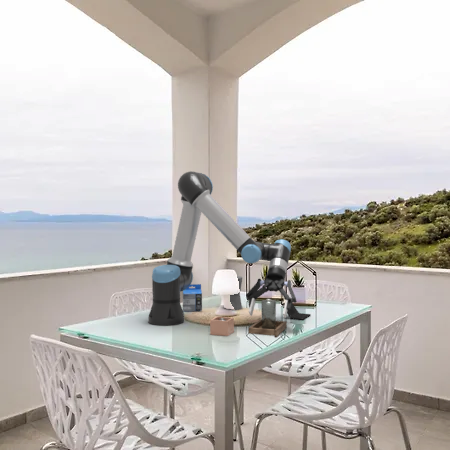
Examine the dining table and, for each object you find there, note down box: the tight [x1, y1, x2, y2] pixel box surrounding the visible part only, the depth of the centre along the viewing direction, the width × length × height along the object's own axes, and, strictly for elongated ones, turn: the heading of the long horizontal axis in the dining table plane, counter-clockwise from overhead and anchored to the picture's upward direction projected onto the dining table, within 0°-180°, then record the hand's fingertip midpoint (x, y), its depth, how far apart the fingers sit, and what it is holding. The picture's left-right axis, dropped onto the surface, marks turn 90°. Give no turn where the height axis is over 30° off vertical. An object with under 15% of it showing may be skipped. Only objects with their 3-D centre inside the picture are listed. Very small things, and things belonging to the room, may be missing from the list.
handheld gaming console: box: [283, 302, 311, 321], centre depth 229 cm, size 12×7×10 cm
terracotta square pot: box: [209, 315, 235, 337], centre depth 197 cm, size 7×7×6 cm
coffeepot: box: [230, 275, 243, 311], centre depth 249 cm, size 15×9×18 cm, turn 27°
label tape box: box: [182, 283, 203, 313], centre depth 242 cm, size 9×4×12 cm, turn 97°
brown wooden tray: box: [247, 319, 288, 338], centre depth 202 cm, size 11×16×3 cm
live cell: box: [261, 298, 277, 330], centre depth 203 cm, size 6×6×12 cm
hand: (267, 314), depth 201 cm, fingers open, 13 cm apart
